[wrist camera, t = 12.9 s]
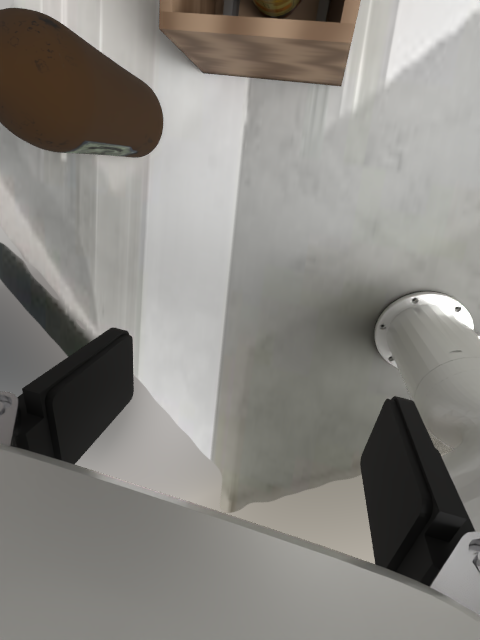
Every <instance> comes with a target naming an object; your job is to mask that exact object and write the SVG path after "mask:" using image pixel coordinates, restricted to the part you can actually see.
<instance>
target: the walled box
mask: <svg viewBox="0 0 480 640" xmlns="http://www.w3.org/2000/svg"><path fill="white" fill-rule="evenodd" d="M360 1H361V0H302V1H301V3H300V4H299V5H298V6H297V7H296V9H295V10H294V11H293V12H292V13H291V14H290V15H288V16H287V17H286V18H280V19H274V18H267V17H265V16H264V15H263V14H262V13H261V12H260V11H259V9H258V8H257V6H256V5H255V4H254V2H253V0H160V14H159V29H160V30H161V31H162V32H163V33H164V34H165V35H166V36H167V37H168V38H169V39H170V40H171V41H172V42H173V43H174V44H175V45H176V46H177V47H178V48H179V49H180V50H181V51H182V52H183V53H184V54H185V55H186V56H187V57H188V58H189V59H190V60H191V61H192V62H193V63H194V64H195V65H196V66H197V67H198V68H199V69H200V70H201V71H202V72H203V73H209V74H219V75H229V76H240V77H250V78H261V79H271V80H282V81H292V82H303V83H313V84H324V85H334V86H341V84H342V80H343V76H344V71H345V67H346V63H347V59H348V54H349V50H350V46H351V41H352V37H353V32H354V28H355V23H356V19H357V15H358V10H359V6H360Z"/></svg>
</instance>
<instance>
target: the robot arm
mask: <svg viewBox="0 0 480 640" xmlns="http://www.w3.org/2000/svg"><path fill="white" fill-rule="evenodd" d="M413 298H415V300H412V299H413ZM455 307H457V308H455ZM382 324H384V325H383V326H380V325H382ZM374 338H375V343H376V346H377V349H378V351H379V353H380V354H381V356H382V357H383V358H384V359H385V360H386V361H387V362H388V363H389V364H391V365H393V366H394V367H396V368H398V369H399V372H400V374H401V376H402V378H403V381H404V383H405V385H406V387H407V390H408V392H409V394H410V396H411V399H412V400H408V399H404V398H400V397H396V396H394V397H393V398H392V399H391V400H390V399H386V401H385V402H384V405H383V407H382V409H381V412H380V414H379V416H378V419H377V421H376V423H375V426H374V428H373V430H372V433H371V435H370V437H369V439H368V442H367V444H366V446H365V449H364V451H363V453H362V456H361V463H360V465H361V472H362V479H363V485H364V492H365V499H366V505H367V511H368V518H369V524H370V531H371V538H372V544H373V550H374V557H375V564H376V565H375V564H372V563H370V562H367V561H363V560H361V559H358V558H355V557H352V556H350V555H347V554H344V553H341V552H338V551H335V550H333V549H329V548H327V547H324V546H321V545H318V544H315V543H312V542H309V541H306V540H303V539H300V538H297V537H294V536H291V535H288V534H285V533H282V532H279V531H276V530H273V529H270V528H267V527H264V526H261V525H258V524H255V523H252V522H249V521H246V520H243V519H240V518H237V517H234V516H231V515H228V514H225V513H222V512H219V511H216V510H213V509H210V508H207V507H203V506H201V505H197V504H195V503H192V502H189V501H185V500H182V499H179V498H176V497H173V496H170V495H167V494H164V493H161V492H158V491H155V490H152V489H148V488H146V487H142V486H140V485H136V484H133V483H130V482H127V481H124V480H120V479H117V478H114V477H111V476H108V475H105V474H102V473H99V472H96V471H93V470H89V469H87V468H83V467H80V466H77V465H74V464H75V463H76V462H77V461H78V460H79V459H80V458H81V456H82V455H83V454H84V453H85V452H86V451H87V450H88V448H89V447H90V446H91V445H92V444H93V443H94V441H95V440H96V439H97V438H98V437H99V436H100V435H101V434H102V432H103V431H104V430H105V429H106V428H107V427H108V426H109V424H110V423H111V422H112V421H113V420H114V419H115V418H116V416H117V415H118V414H119V413H120V412H121V411H122V410H123V409H124V407H125V406H126V405H127V404H128V403H129V402H130V400H131V399H132V396H133V391H134V390H133V389H134V388H133V341H132V336H130V335H129V333H128V331H125V330H121V329H117V328H110V329H109V330H107V331H106V332H104V333H103V334H101V335H100V336H99V337H97V338H96V339H94V340H93V341H91V342H90V343H88V344H87V345H85V346H84V347H82V348H81V349H80V350H78V351H77V352H75V353H74V354H72V355H71V356H69V357H68V358H66V359H65V360H63V361H62V362H60V363H59V364H58V365H56V366H55V367H53V368H52V369H50V370H49V371H47V372H46V373H44V374H43V375H42V376H40V377H38V378H37V379H36V380H34V381H33V382H31V383H30V384H28V385H27V386H25V387H24V388H23V389H22V390H23V394H21V395H20V396H19V397H16V396H15V395H14V394H12V393H10V392H2V391H0V640H480V336H479V335H478V334H477V333H476V332H475V331H474V325H473V319H472V317H471V315H470V313H469V311H468V310H467V309H466V308H465V306H464V305H462V304H461V303H460V302H459V301H457V300H456V299H454V298H453V297H451V296H448V295H446V294H443V293H438V292H418V293H413V294H410V295H406V296H404V297H402V298H400V299H398V300H396V301H395V302H393V303H392V304H390V305H389V306H388V307H387V308H386V309H385V310H384V311H383V312H382V314H381V315H380V317H379V318H378V321H377V323H376V326H375V331H374ZM390 356H391V357H390ZM426 428H427V429H428V430H429V432H430V433H431V434H432V435H433V436H435V437H436V438H437V439H438V440H439V441H441V442H442V443H444V444H445V445H447V446H449V447H450V448H452V449H453V450H452V451H451V452H449V453H447V454H446V455H444V456H442V457H441V455H440V453H439V451H438V450H437V449H436V448H435V447H434V445H433V443H432V441H431V438H430V436H429V434H428V432H427V429H426Z"/></svg>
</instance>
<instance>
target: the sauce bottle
mask: <svg viewBox="0 0 480 640" xmlns="http://www.w3.org/2000/svg"><path fill="white" fill-rule="evenodd" d="M301 1H302V0H253V2H254V4H255V5H256V6H257V8H258V9H259V11H260V12H261V13H262V14H263V15H264V16H265V17H267V18H274V19H280V18H286V17H287V16H288V15H290V14H291V13H292V12H293V11H294V10H295V9H296V7H297V6H298V5H299V4H300V3H301Z"/></svg>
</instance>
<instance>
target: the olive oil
mask: <svg viewBox="0 0 480 640" xmlns="http://www.w3.org/2000/svg"><path fill="white" fill-rule="evenodd" d="M0 122H1V123H2V124H3V125H4V126H5V127H6V128H7V129H8V130H9V131H11V132H12V133H13V134H15V135H16V136H18V137H19V138H21V139H22V140H24V141H26V142H28V143H30V144H32V145H34V146H36V147H39V148H41V149H44V150H48V151H53V152H61V153H81V154H98V155H113V156H125V157H142V156H145V155H147V154H149V153H150V152H151V151H152V150H153V149H154V148H155V147H156V146H157V144H158V142H159V140H160V138H161V134H162V130H163V114H162V109H161V106H160V103H159V101H158V99H157V97H156V95H155V93H154V92H153V91H152V89H151V88H150V87H149V86H148V85H147V84H145V83H144V82H143V81H141V80H140V79H138V78H137V77H135V76H134V75H132V74H131V73H130V72H128V71H127V70H125V69H124V68H122V67H121V66H119V65H118V64H116V63H115V62H114V61H112V60H111V59H110V58H108V57H107V56H105V55H104V54H103V53H101V52H100V51H98V50H97V49H96V48H94V47H93V46H91V45H90V44H89V43H87V42H86V41H85V40H83V39H82V38H81V37H79V36H78V35H77V34H75V33H74V32H73V31H71V30H70V29H68V28H67V27H66V26H64V25H63V24H61V23H60V22H58V21H57V20H55V19H53V18H52V17H50V16H48V15H45V14H43V13H40V12H37V11H33V10H28V9H21V8H7V9H3V10H0Z"/></svg>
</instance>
